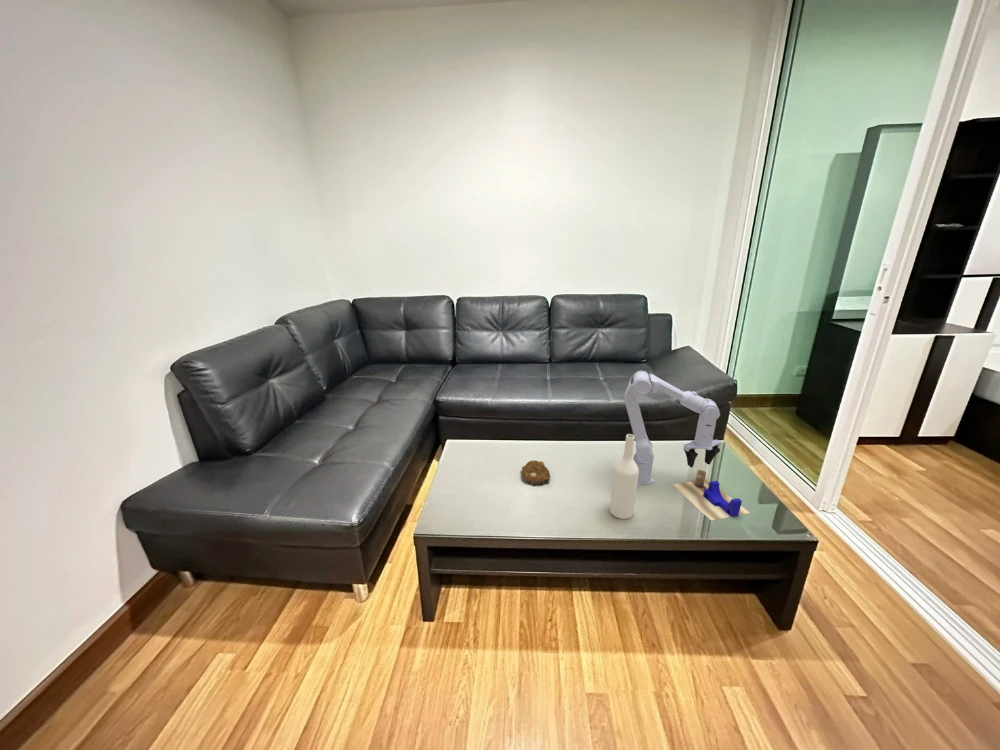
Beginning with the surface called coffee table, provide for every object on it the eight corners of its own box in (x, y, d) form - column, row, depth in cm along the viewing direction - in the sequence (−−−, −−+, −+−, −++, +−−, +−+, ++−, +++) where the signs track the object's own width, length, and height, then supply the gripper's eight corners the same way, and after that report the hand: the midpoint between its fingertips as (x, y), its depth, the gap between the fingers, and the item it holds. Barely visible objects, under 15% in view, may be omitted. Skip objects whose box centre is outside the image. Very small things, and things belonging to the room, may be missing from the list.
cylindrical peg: (698, 488, 150) (701, 474, 148) (693, 483, 153) (695, 470, 151) (705, 487, 151) (707, 473, 149) (699, 482, 153) (702, 469, 151)
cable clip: (703, 496, 146) (705, 482, 144) (713, 494, 146) (716, 480, 144) (727, 517, 134) (730, 502, 132) (738, 515, 135) (741, 501, 133)
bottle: (621, 501, 143) (630, 428, 133) (638, 514, 136) (649, 438, 126) (604, 508, 140) (612, 433, 130) (620, 522, 133) (630, 444, 123)
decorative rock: (519, 467, 166) (524, 489, 152) (518, 458, 165) (524, 480, 151) (545, 464, 167) (553, 486, 153) (545, 456, 165) (553, 477, 151)
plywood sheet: (711, 521, 133) (711, 520, 133) (671, 485, 152) (671, 484, 152) (749, 513, 137) (750, 512, 137) (706, 479, 156) (706, 478, 156)
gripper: (695, 440, 138) (689, 473, 143) (729, 435, 142) (722, 467, 146) (682, 431, 145) (676, 462, 149) (715, 426, 148) (709, 457, 153)
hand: (698, 464), depth 148 cm, fingers open, 7 cm apart
